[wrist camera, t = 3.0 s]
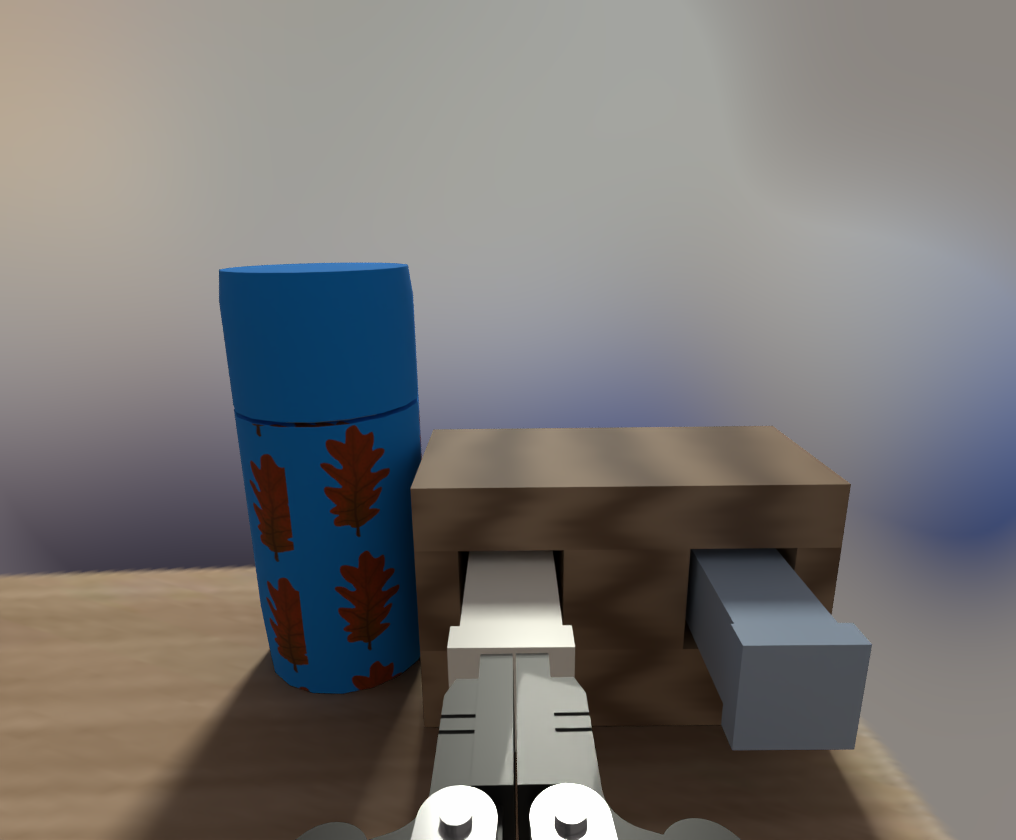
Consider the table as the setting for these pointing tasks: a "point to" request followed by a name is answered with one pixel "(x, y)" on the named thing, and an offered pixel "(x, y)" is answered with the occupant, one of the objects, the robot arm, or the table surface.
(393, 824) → the table surface
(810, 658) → the key blue
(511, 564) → the key white
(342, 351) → the thermos
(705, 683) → the housing
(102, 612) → the table surface
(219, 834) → the table surface
